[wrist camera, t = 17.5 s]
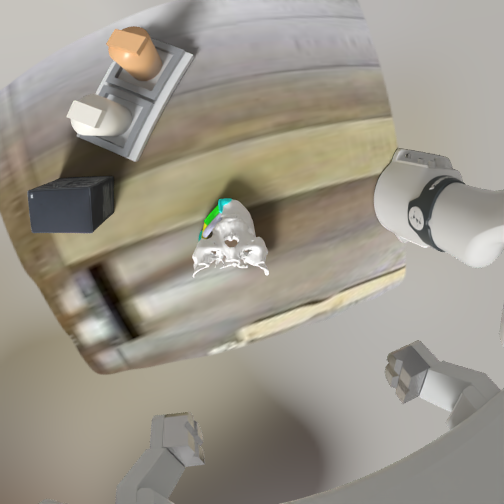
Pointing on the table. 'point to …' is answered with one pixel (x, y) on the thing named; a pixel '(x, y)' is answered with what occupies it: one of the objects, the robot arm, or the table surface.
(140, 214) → the table surface
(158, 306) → the table surface
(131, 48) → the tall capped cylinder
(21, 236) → the table surface
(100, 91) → the grey base with column
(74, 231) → the small box
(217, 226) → the partial skull model
